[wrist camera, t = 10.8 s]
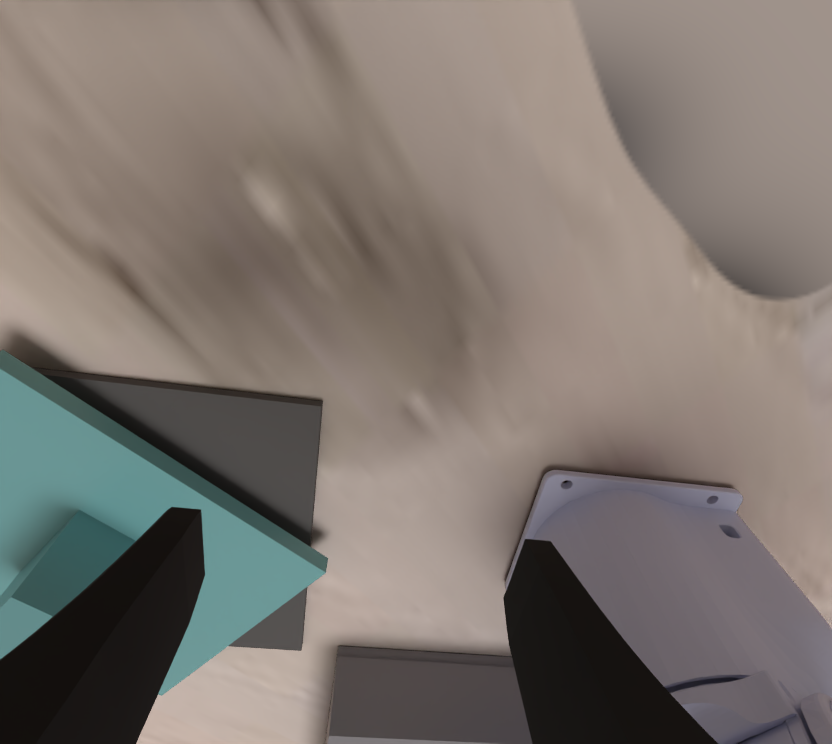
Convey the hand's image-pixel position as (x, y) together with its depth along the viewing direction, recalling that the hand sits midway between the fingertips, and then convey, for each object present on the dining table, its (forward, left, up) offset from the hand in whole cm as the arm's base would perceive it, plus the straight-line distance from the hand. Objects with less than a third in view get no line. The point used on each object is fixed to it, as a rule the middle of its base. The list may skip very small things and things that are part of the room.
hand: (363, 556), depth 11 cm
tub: (-7, +24, -9) cm, 27 cm away
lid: (+11, +10, -9) cm, 18 cm away
